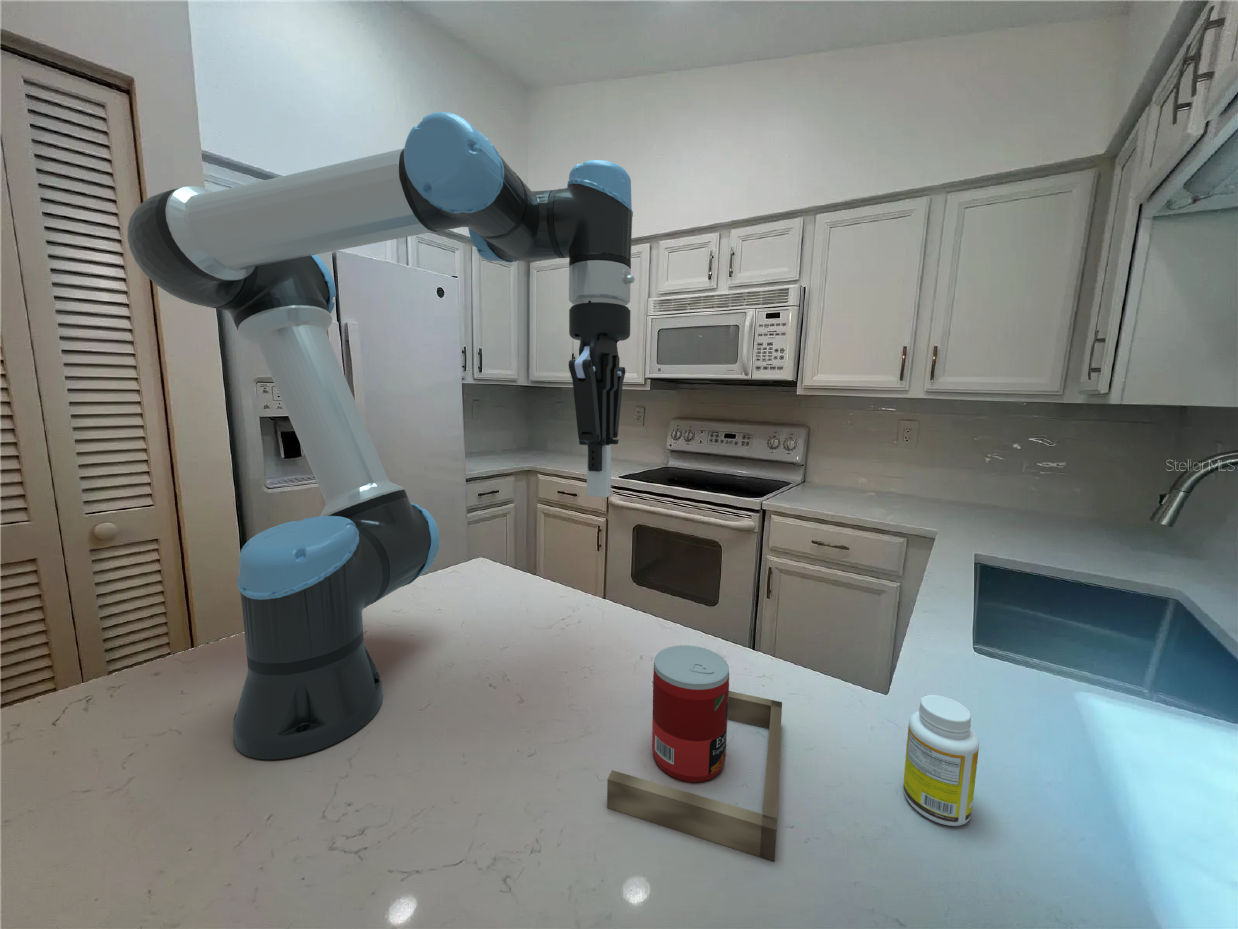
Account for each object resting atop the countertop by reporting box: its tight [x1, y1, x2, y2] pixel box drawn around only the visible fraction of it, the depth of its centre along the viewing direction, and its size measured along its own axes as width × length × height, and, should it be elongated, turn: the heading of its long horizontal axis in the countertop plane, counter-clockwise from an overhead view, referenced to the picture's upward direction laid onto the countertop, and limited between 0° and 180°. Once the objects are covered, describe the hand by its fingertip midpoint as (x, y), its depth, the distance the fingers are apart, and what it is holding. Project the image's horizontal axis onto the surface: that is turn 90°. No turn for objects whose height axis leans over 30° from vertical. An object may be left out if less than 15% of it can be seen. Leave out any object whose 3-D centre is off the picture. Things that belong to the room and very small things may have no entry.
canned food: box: [651, 644, 730, 783], centre depth 51 cm, size 8×8×11 cm
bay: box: [606, 690, 783, 863], centre depth 51 cm, size 15×18×3 cm
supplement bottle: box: [902, 694, 980, 827], centre depth 46 cm, size 6×6×10 cm
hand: (598, 495), depth 61 cm, fingers closed
